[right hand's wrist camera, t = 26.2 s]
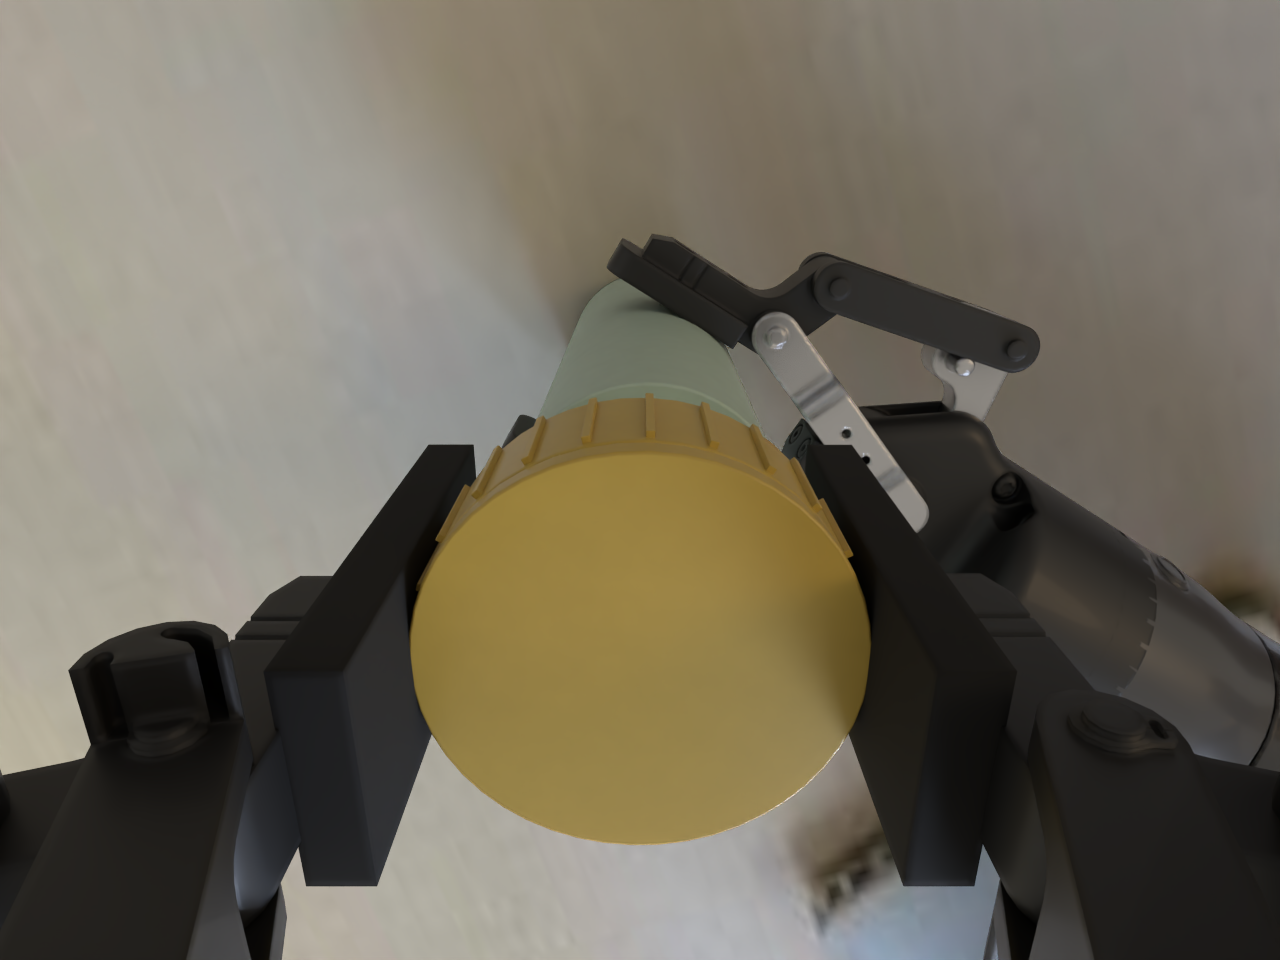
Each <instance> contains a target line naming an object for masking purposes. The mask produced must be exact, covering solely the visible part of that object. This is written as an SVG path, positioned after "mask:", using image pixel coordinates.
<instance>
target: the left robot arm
mask: <svg viewBox="0 0 1280 960" xmlns="http://www.w3.org/2000/svg"><path fill="white" fill-rule="evenodd" d="M607 268H608V269H609V270H610V271H611V272H612V273H613V274H615V275H616V276H617V277H619V278H620V279H622V280H623V281H625V282H627V283H628V284H630V285H631V286H633V287H635V288H636V289H638V290H639V291H641V292H643V293H644V294H646V295H647V296H649V297H651V298H652V299H654V300H655V301H657V302H659V303H660V304H662V305H663V306H665V307H666V308H668V309H670V310H671V311H673V312H674V313H676V314H678V315H679V316H681V317H682V318H684V319H686V320H687V321H689V322H690V323H692V324H694V325H696V326H698V327H699V328H701V329H702V330H704V331H705V332H707V333H708V334H709V335H711V336H713V337H714V338H716V339H717V340H719V341H721V342H722V343H724V344H725V345H727V346H729V347H730V348H732V349H733V348H734V346H735V345H736V343H737V342H739V343H741V344H743V345H744V346H746V347H747V348H749V349H750V350H752V351H754V352H755V353H757V354H759V356H760V357H761V359H762V360H763V361H764V363H765V364H766V365H767V367H768V368H769V369H770V371H771V372H772V373H773V375H774V376H775V378H776V379H777V380H778V382H779V383H780V384H781V386H782V387H783V388H784V390H785V391H786V393H787V394H788V395H789V397H790V398H791V399H792V401H793V402H794V404H795V405H796V406H797V408H798V409H799V411H800V412H801V414H802V415H803V416H804V418H805V419H806V421H805V420H804V419H801V420H800V421H799V423H798V424H797V426H796V427H795V428H794V430H793V431H792V433H791V434H790V435H789V437H788V438H787V440H786V442H785V444H784V447H783V450H782V453H783V454H784V455H785V456H786V457H787V458H788V459H789V460H791V459H792V458H793V457H795V458H796V459H797V460H798V462H799V463H800V465H801V467H802V469H803V471H804V473H805V464H806V452H807V445H852V446H853V447H854V448H855V450H856V451H857V452H858V454H859V455H860V457H861V458H862V459H863V461H864V462H865V463H866V465H867V466H868V468H869V469H870V470H871V472H872V473H873V474H874V476H875V477H876V479H877V480H878V481H879V483H880V484H881V485H882V487H883V488H884V489H885V491H886V492H887V494H888V495H889V496H890V498H891V499H892V500H893V502H894V503H895V505H896V506H897V507H898V509H899V510H900V511H901V513H902V514H903V516H904V517H905V518H906V520H907V521H908V522H909V524H910V525H911V526H912V528H913V529H914V531H915V532H916V533H917V535H918V536H919V537H920V539H921V540H922V542H923V543H924V544H925V546H926V547H927V548H928V550H929V551H930V552H931V554H932V555H933V557H934V558H935V559H936V561H937V562H938V563H939V565H940V566H941V568H942V569H943V570H944V572H945V573H981V574H983V575H984V576H986V577H988V578H989V579H991V580H992V581H994V582H996V583H997V584H999V585H1001V586H1002V587H1004V588H1006V589H1007V590H1009V591H1011V592H1012V593H1013V594H1014V595H1015V597H1016V598H1017V599H1018V600H1019V601H1020V602H1021V604H1022V605H1023V606H1024V607H1025V608H1026V609H1027V611H1028V612H1029V613H1030V618H1034V619H1035V620H1036V621H1037V622H1038V624H1039V625H1040V626H1041V627H1042V628H1043V629H1044V631H1045V632H1046V637H1050V638H1051V639H1052V640H1053V641H1054V642H1055V644H1056V645H1057V646H1058V647H1059V648H1060V649H1061V651H1062V652H1063V653H1064V654H1065V655H1066V657H1067V658H1068V659H1069V660H1070V661H1071V662H1072V664H1073V665H1074V666H1075V667H1076V668H1077V669H1078V671H1079V672H1080V673H1081V674H1082V675H1083V677H1084V678H1085V679H1086V680H1087V681H1088V682H1089V684H1090V685H1091V686H1092V687H1093V688H1094V690H1095V691H1100V692H1104V693H1107V694H1111V695H1115V696H1119V697H1123V698H1126V699H1129V700H1131V701H1133V702H1135V703H1138V704H1140V705H1142V706H1144V707H1147V708H1149V709H1151V710H1153V711H1154V712H1156V713H1157V714H1159V715H1160V716H1162V717H1163V718H1164V719H1166V720H1167V721H1169V722H1170V723H1171V724H1173V725H1174V726H1175V727H1176V728H1177V729H1178V730H1179V732H1180V733H1181V734H1182V735H1183V737H1184V738H1185V739H1186V740H1187V742H1188V743H1189V744H1190V746H1191V748H1192V750H1193V752H1194V754H1197V755H1201V756H1205V757H1209V758H1213V759H1218V760H1223V761H1228V762H1233V763H1238V764H1243V765H1248V766H1253V767H1258V768H1263V769H1268V770H1273V771H1278V772H1280V644H1278V643H1277V642H1275V641H1273V640H1272V639H1270V638H1269V637H1267V636H1266V635H1264V634H1263V633H1261V632H1259V631H1258V630H1256V629H1255V628H1253V627H1252V626H1250V625H1249V624H1247V623H1245V622H1244V621H1242V620H1241V619H1239V618H1238V617H1237V616H1235V615H1234V614H1233V613H1231V612H1230V611H1229V610H1228V609H1227V608H1226V607H1225V606H1223V605H1222V604H1221V603H1220V602H1219V601H1218V600H1217V599H1216V598H1215V597H1214V596H1213V595H1212V594H1211V593H1210V592H1208V591H1207V590H1206V589H1205V588H1204V587H1203V586H1201V585H1200V584H1199V583H1198V582H1196V581H1195V580H1193V579H1192V578H1191V577H1189V576H1188V575H1186V574H1185V573H1184V572H1182V571H1181V570H1179V569H1178V568H1177V567H1176V566H1175V565H1174V564H1173V563H1171V562H1170V561H1169V560H1167V559H1166V558H1164V557H1162V556H1159V555H1157V554H1155V553H1153V552H1152V551H1150V550H1148V549H1147V548H1145V547H1144V546H1142V545H1141V544H1139V543H1137V542H1136V541H1134V540H1133V539H1131V538H1130V537H1128V536H1127V535H1125V534H1123V533H1122V532H1120V531H1119V530H1117V529H1116V528H1114V527H1113V526H1111V525H1110V524H1108V523H1107V522H1105V521H1103V520H1102V519H1100V518H1099V517H1097V516H1096V515H1094V514H1092V513H1091V512H1089V511H1088V510H1086V509H1085V508H1083V507H1082V506H1080V505H1079V504H1077V503H1075V502H1074V501H1072V500H1071V499H1069V498H1068V497H1066V496H1065V495H1063V494H1062V493H1060V492H1059V491H1057V490H1055V489H1054V488H1052V487H1051V486H1049V485H1048V484H1046V483H1045V482H1043V481H1042V480H1040V479H1038V478H1037V477H1035V476H1034V475H1032V474H1031V473H1029V472H1028V471H1026V470H1025V469H1023V468H1021V467H1020V466H1018V465H1017V464H1015V463H1014V462H1012V461H1011V460H1009V459H1008V458H1006V457H1005V456H1003V455H1002V454H1001V452H1000V451H999V449H998V448H997V446H996V444H995V441H994V439H993V436H992V434H991V432H990V430H989V429H988V427H987V426H986V425H985V424H984V423H983V421H984V419H985V417H986V415H987V413H988V411H989V409H990V407H991V406H992V404H993V402H994V400H995V398H996V396H997V394H998V392H999V390H1000V388H1001V386H1002V384H1003V382H1004V380H1005V378H1006V376H1007V374H1008V373H1015V372H1020V371H1022V370H1024V369H1026V368H1028V367H1029V366H1030V365H1031V364H1032V363H1033V362H1034V361H1035V359H1036V358H1037V356H1038V353H1039V350H1040V341H1039V337H1038V335H1037V334H1036V332H1035V331H1034V330H1033V329H1031V328H1030V327H1027V326H1025V325H1023V324H1020V323H1018V322H1016V321H1014V320H1011V319H1009V318H1007V317H1004V316H1002V315H1000V314H997V313H995V312H993V311H990V310H988V309H985V308H982V307H979V306H976V305H973V304H971V303H968V302H965V301H962V300H959V299H956V298H954V297H951V296H948V295H945V294H942V293H939V292H937V291H934V290H931V289H928V288H925V287H922V286H919V285H917V284H914V283H911V282H908V281H905V280H902V279H900V278H897V277H894V276H891V275H888V274H885V273H883V272H880V271H877V270H874V269H871V268H868V267H866V266H863V265H860V264H857V263H854V262H851V261H848V260H846V259H843V258H840V257H837V256H834V255H831V254H829V253H825V252H819V253H814V254H812V255H810V256H808V257H807V258H806V259H805V260H804V261H803V262H802V263H801V265H800V267H799V270H798V271H797V272H795V273H794V274H793V275H791V276H790V277H789V278H787V279H786V280H785V281H783V282H782V283H781V284H779V285H778V286H776V287H774V288H771V289H767V290H757V289H753V288H750V287H748V286H747V285H745V284H743V283H742V282H740V281H739V280H737V279H736V278H734V277H733V276H731V275H730V274H728V273H726V272H725V271H723V270H722V269H720V268H719V267H717V266H716V265H714V264H713V263H711V262H710V261H708V260H706V259H705V258H703V257H702V256H700V255H699V254H697V253H696V252H694V251H692V250H691V249H689V248H688V247H686V246H685V245H683V244H682V243H680V242H679V241H677V240H676V239H674V238H672V237H667V236H661V235H656V234H652V235H651V237H650V238H649V240H648V242H647V243H646V245H645V247H644V248H643V250H642V249H641V248H639V247H638V246H636V245H635V244H633V243H631V242H629V241H627V240H626V239H623V238H622V240H621V242H620V243H619V245H618V247H617V248H616V250H615V252H614V253H613V255H612V257H611V259H610V260H609V262H608V265H607ZM836 314H838V315H841V316H844V317H847V318H850V319H853V320H856V321H858V322H861V323H864V324H867V325H870V326H873V327H876V328H879V329H882V330H885V331H888V332H890V333H893V334H896V335H899V336H902V337H905V338H908V339H911V340H914V341H917V342H920V343H922V344H924V345H923V348H922V351H921V360H922V363H923V365H924V367H925V368H926V369H927V370H928V371H930V372H931V373H932V374H934V375H935V376H936V377H938V378H939V379H940V380H941V381H942V383H943V386H944V396H943V399H942V401H932V402H918V403H904V404H890V405H875V406H861V407H857V406H856V404H855V403H854V401H853V400H852V399H851V397H850V396H849V394H848V393H847V392H846V390H845V389H844V388H843V386H842V385H841V383H840V382H839V381H838V380H837V378H836V377H835V376H834V374H833V373H832V372H831V370H830V369H829V367H828V366H827V365H826V363H825V362H824V360H823V359H822V357H821V356H820V355H819V353H818V352H817V350H816V349H815V348H814V346H813V345H812V343H811V342H810V340H809V339H808V338H807V336H808V335H809V334H811V333H812V332H813V331H815V330H816V329H817V328H819V327H820V326H821V325H823V324H824V323H825V322H827V321H828V320H829V319H831V318H832V317H833V316H835V315H836ZM535 422H536V419H534V418H532V417H530V416H527V415H520V416H519V417H518V419H517V421H516V422H515V424H514V426H513V427H512V429H511V431H510V433H509V434H508V436H507V438H506V440H505V442H504V444H503V446H502V449H503V448H504V447H505V446H507V445H508V444H509V443H510V442H512V441H513V440H514V439H515V438H517V437H518V436H519V435H520V434H522V433H523V432H525V431H527V430H528V429H530V428H532V427H533V426H534V424H535Z"/></svg>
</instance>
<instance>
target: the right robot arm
mask: <svg viewBox="0 0 1280 960" xmlns="http://www.w3.org/2000/svg"><path fill="white" fill-rule="evenodd" d="M805 475H806V477H807V479H808V481H809V483H810V485H811V487H812V489H813V491H814V493H815V494H816V496H817V498H818V500H820V499H822V498H823V499H824V500H825V502H826V504H827V506H828V508H829V510H830V512H831V514H832V515H833V517H834V519H835V521H836V523H837V525H838V527H839V529H840V530H841V532H842V534H843V536H844V538H845V540H846V542H847V544H848V545H849V547H850V549H851V551H852V553H853V556H852V557H849V558H847V559H848V560H849V562H850V564H851V566H852V568H853V570H854V572H855V574H856V577H857V579H858V582H859V584H860V587H861V590H862V592H863V595H864V597H865V601H866V606H867V610H868V615H869V619H870V624H871V650H870V659H869V668H868V676H867V683H866V691H865V696H864V700H863V703H862V706H861V708H860V710H859V713H858V715H857V718H856V720H855V723H854V725H853V727H852V728H851V730H850V732H849V736H850V739H851V742H852V744H853V747H854V750H855V753H856V755H857V758H858V761H859V764H860V767H861V769H862V772H863V775H864V778H865V780H866V783H867V786H868V789H869V792H870V794H871V797H872V800H873V803H874V805H875V808H876V811H877V814H878V817H879V819H880V822H881V825H882V828H883V830H884V833H885V836H886V839H887V842H888V844H889V847H890V850H891V853H892V855H893V858H894V861H895V864H896V867H897V869H898V872H899V875H900V878H901V881H902V883H903V886H974V885H975V880H976V875H977V870H978V865H979V860H980V855H981V850H982V845H984V847H985V849H986V851H987V853H988V855H989V857H990V859H991V861H992V863H993V865H994V867H995V869H996V871H997V873H998V875H999V877H1000V882H999V887H998V891H997V896H996V901H995V905H994V910H993V915H992V919H991V924H990V929H989V933H988V938H987V942H986V947H985V952H984V959H983V960H996V958H997V954H998V959H999V960H1280V772H1278V771H1273V770H1268V769H1263V768H1258V767H1253V766H1248V765H1243V764H1238V763H1233V762H1228V761H1223V760H1218V759H1213V758H1209V757H1205V756H1201V755H1197V754H1194V752H1193V750H1192V748H1191V746H1190V744H1189V743H1188V742H1187V740H1186V739H1185V738H1184V737H1183V735H1182V734H1181V733H1180V732H1179V730H1178V729H1177V728H1176V727H1175V726H1174V725H1173V724H1171V723H1170V722H1169V721H1167V720H1166V719H1164V718H1163V717H1162V716H1160V715H1159V714H1157V713H1156V712H1154V711H1153V710H1151V709H1149V708H1147V707H1144V706H1142V705H1140V704H1138V703H1135V702H1133V701H1131V700H1129V699H1126V698H1123V697H1119V696H1115V695H1111V694H1107V693H1104V692H1100V691H1095V690H1094V688H1093V687H1092V686H1091V685H1090V684H1089V682H1088V681H1087V680H1086V679H1085V678H1084V677H1083V675H1082V674H1081V673H1080V672H1079V671H1078V669H1077V668H1076V667H1075V666H1074V665H1073V664H1072V662H1071V661H1070V660H1069V659H1068V658H1067V657H1066V655H1065V654H1064V653H1063V652H1062V651H1061V649H1060V648H1059V647H1058V646H1057V645H1056V644H1055V642H1054V641H1053V640H1052V639H1051V638H1050V637H1046V632H1045V631H1044V629H1043V628H1042V627H1041V626H1040V625H1039V624H1038V622H1037V621H1036V620H1035V619H1034V618H1030V613H1029V612H1028V611H1027V609H1026V608H1025V607H1024V606H1023V605H1022V604H1021V602H1020V601H1019V600H1018V599H1017V598H1016V597H1015V595H1014V594H1013V593H1012V592H1011V591H1009V590H1007V589H1006V588H1004V587H1002V586H1001V585H999V584H997V583H996V582H994V581H992V580H991V579H989V578H988V577H986V576H984V575H983V574H981V573H945V572H944V570H943V569H942V568H941V566H940V565H939V563H938V562H937V561H936V559H935V558H934V557H933V555H932V554H931V552H930V551H929V550H928V548H927V547H926V546H925V544H924V543H923V542H922V540H921V539H920V537H919V536H918V535H917V533H916V532H915V531H914V529H913V528H912V526H911V525H910V524H909V522H908V521H907V520H906V518H905V517H904V516H903V514H902V513H901V511H900V510H899V509H898V507H897V506H896V505H895V503H894V502H893V500H892V499H891V498H890V496H889V495H888V494H887V492H886V491H885V489H884V488H883V487H882V485H881V484H880V483H879V481H878V480H877V479H876V477H875V476H874V474H873V473H872V472H871V470H870V469H869V468H868V466H867V465H866V463H865V462H864V461H863V459H862V458H861V457H860V455H859V454H858V452H857V451H856V450H855V448H854V447H853V446H852V445H807V452H806V464H805ZM475 480H476V470H475V458H474V445H428V446H427V448H426V449H425V450H424V452H423V453H422V455H421V456H420V457H419V459H418V460H417V461H416V463H415V464H414V466H413V467H412V468H411V470H410V471H409V472H408V474H407V475H406V476H405V478H404V479H403V481H402V482H401V483H400V485H399V486H398V487H397V489H396V490H395V492H394V493H393V494H392V496H391V497H390V498H389V500H388V501H387V503H386V504H385V505H384V507H383V508H382V509H381V511H380V512H379V514H378V515H377V516H376V518H375V519H374V520H373V522H372V523H371V524H370V526H369V527H368V529H367V530H366V531H365V533H364V534H363V535H362V537H361V538H360V540H359V541H358V542H357V544H356V545H355V546H354V548H353V549H352V551H351V552H350V553H349V555H348V556H347V557H346V559H345V560H344V561H343V563H342V564H341V566H340V567H339V568H338V570H337V571H336V572H335V574H334V575H333V576H300V577H298V578H296V579H295V580H293V581H291V582H290V583H288V584H286V585H285V586H283V587H281V588H280V589H278V590H277V591H275V592H273V593H272V594H270V595H269V596H268V597H267V598H266V599H265V601H264V602H263V603H262V604H261V605H260V607H259V608H258V609H257V610H256V611H255V612H254V614H253V615H252V616H251V621H247V622H246V623H245V624H244V626H243V627H242V628H241V629H240V630H239V631H238V633H237V634H236V635H235V640H231V641H230V642H229V640H228V636H227V634H226V633H225V632H224V631H222V630H221V629H220V628H218V627H217V626H216V625H212V624H207V623H202V622H197V621H181V622H165V623H161V624H156V625H151V626H147V627H142V628H138V629H135V630H132V631H130V632H127V633H124V634H122V635H119V636H116V637H114V638H111V639H109V640H107V641H105V642H103V643H102V644H100V645H98V646H97V647H95V648H93V649H92V650H90V651H88V652H87V653H85V654H84V655H83V656H82V657H81V658H80V659H79V660H78V661H77V662H76V663H75V664H74V665H73V666H72V667H71V668H70V669H69V670H68V671H69V674H70V677H71V681H72V684H73V687H74V691H75V694H76V697H77V700H78V704H79V707H80V710H81V714H82V717H83V720H84V723H85V727H86V730H87V733H88V737H89V740H90V743H91V746H90V748H89V750H88V752H87V754H86V756H85V758H82V759H79V760H75V761H71V762H66V763H61V764H56V765H51V766H46V767H41V768H36V769H31V770H26V771H21V772H16V773H12V774H7V775H2V773H1V770H0V960H282V953H283V945H284V936H285V928H286V920H287V915H286V908H285V901H284V896H283V891H282V887H281V881H282V879H283V877H284V875H285V873H286V871H287V869H288V867H289V865H290V862H291V860H292V858H293V856H294V854H295V852H296V850H297V848H298V847H299V852H300V857H301V862H302V867H303V872H304V877H305V882H306V886H377V885H378V882H379V879H380V876H381V874H382V871H383V868H384V865H385V862H386V860H387V857H388V854H389V851H390V849H391V846H392V843H393V840H394V837H395V835H396V832H397V829H398V826H399V824H400V821H401V818H402V815H403V812H404V810H405V807H406V804H407V801H408V799H409V796H410V793H411V790H412V787H413V785H414V782H415V779H416V776H417V774H418V771H419V768H420V765H421V762H422V760H423V757H424V754H425V751H426V748H427V746H428V743H429V740H430V737H431V735H432V733H431V731H430V729H429V727H428V725H427V723H426V721H425V719H424V716H423V714H422V712H421V710H420V707H419V703H418V700H417V697H416V694H415V687H414V679H413V671H412V663H411V654H410V644H409V631H410V625H411V618H412V612H413V607H414V604H415V601H416V597H417V594H418V591H416V586H417V583H418V581H419V579H420V577H421V575H422V573H423V571H424V570H425V568H426V566H427V564H428V562H429V560H430V558H431V556H432V554H433V552H434V550H435V548H436V547H437V545H438V543H439V542H438V541H436V540H435V539H436V537H437V535H438V534H439V532H440V530H441V528H442V526H443V524H444V522H445V520H446V519H447V517H448V515H449V513H450V511H451V509H452V507H453V505H454V504H455V502H456V500H457V498H458V496H459V494H460V492H461V490H462V489H463V487H464V485H467V486H469V487H471V485H472V484H473V482H474V481H475Z"/></svg>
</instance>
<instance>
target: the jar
mask: <svg viewBox="0 0 1280 960" xmlns="http://www.w3.org/2000/svg"><path fill="white" fill-rule="evenodd" d="M645 393H653V396H654V398H657V399H666V400H676V401H680V402H685V403H689V404H693V405H697V406H700V405H701V402H705V403H708V404H709V406H710V409H711V410H713V411H716V412H718V413H721V414H724V415H726V416H729V417H731V418H732V419H734V420H736V421H738V422H740V423H742V424H744V425H746V426H747V427H749V428H750V426H751V425H752V424H754V425H756V426H757V427H759V429H760V432H761V434H762V436H763V437H764V438H765V435H764V433H763V431H762V428H761V426H760V424H759V422H758V419H757V417H756V415H755V412H754V410H753V408H752V406H751V403H750V401H749V399H748V396H747V394H746V392H745V390H744V387H743V385H742V383H741V380H740V378H739V376H738V374H737V371H736V369H735V367H734V364H733V362H732V360H731V358H730V355H729V353H728V351H727V348H726V346H725V344H724V343H722V342H721V341H719V340H717V339H716V338H714V337H713V336H711V335H709V334H708V333H707V332H705V331H704V330H702V329H701V328H699V327H698V326H696V325H694V324H692V323H690V322H689V321H687V320H686V319H684V318H682V317H681V316H679V315H678V314H676V313H674V312H673V311H671V310H670V309H668V308H666V307H665V306H663V305H662V304H660V303H659V302H657V301H655V300H654V299H652V298H651V297H649V296H647V295H646V294H644V293H643V292H641V291H639V290H638V289H636V288H635V287H633V286H631V285H630V284H628V283H627V282H625V281H623V280H622V279H617V280H615V281H613V282H612V283H610V284H608V285H607V286H605V287H604V288H602V289H601V290H600V291H599V292H598V293H597V294H595V295H594V296H593V298H592V299H591V300H590V301H589V302H588V304H587V305H586V307H585V309H584V310H583V312H582V314H581V316H580V319H579V321H578V323H577V326H576V328H575V330H574V333H573V335H572V338H571V340H570V342H569V345H568V347H567V349H566V352H565V354H564V357H563V359H562V361H561V364H560V366H559V369H558V371H557V373H556V376H555V378H554V380H553V383H552V385H551V388H550V390H549V392H548V395H547V397H546V400H545V402H544V404H543V407H542V409H541V412H540V414H539V416H538V418H539V417H541V416H544V417H545V419H548V418H550V417H553V416H555V415H557V414H560V413H562V412H564V411H567V410H570V409H573V408H577V407H580V406H584V405H587V404H588V401H589V399H591V398H595V397H596V398H597V401H598V402H601V401H607V400H614V399H620V398H645ZM765 439H766V438H765Z"/></svg>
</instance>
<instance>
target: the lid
mask: <svg viewBox="0 0 1280 960" xmlns="http://www.w3.org/2000/svg"><path fill="white" fill-rule="evenodd" d="M435 540H436V541H438V542H439V543H438V545H437V547H436V548H435V550H434V552H433V554H432V556H431V558H430V560H429V562H428V564H427V566H426V568H425V570H424V571H423V573H422V575H421V577H420V579H419V581H418V583H417V586H416V591H418V594H417V597H416V601H415V604H414V607H413V612H412V618H411V625H410V631H409V644H410V654H411V663H412V671H413V679H414V687H415V694H416V697H417V700H418V703H419V707H420V710H421V712H422V714H423V716H424V719H425V721H426V723H427V725H428V727H429V729H430V731H431V733H432V735H433V736H434V738H435V739H436V741H437V742H438V744H439V746H440V747H441V749H442V750H443V752H444V753H445V755H446V756H447V757H448V758H449V759H450V761H451V762H452V763H453V764H454V765H455V766H456V767H457V769H458V770H459V771H460V772H461V773H462V774H463V775H464V776H465V777H466V778H467V779H468V780H469V781H470V782H471V783H473V784H474V785H475V786H476V787H477V788H478V789H479V790H480V791H481V792H483V793H484V794H486V795H487V796H488V797H490V798H491V799H493V800H494V801H496V802H497V803H498V804H500V805H501V806H503V807H504V808H506V809H508V810H510V811H511V812H513V813H515V814H517V815H519V816H521V817H522V818H524V819H526V820H528V821H531V822H533V823H535V824H538V825H540V826H543V827H545V828H548V829H550V830H553V831H556V832H560V833H563V834H566V835H570V836H573V837H577V838H581V839H587V840H592V841H597V842H603V843H613V844H625V845H659V844H668V843H676V842H684V841H690V840H694V839H699V838H703V837H707V836H712V835H715V834H718V833H721V832H724V831H727V830H730V829H733V828H736V827H739V826H741V825H743V824H745V823H747V822H750V821H752V820H754V819H756V818H758V817H760V816H763V815H764V814H766V813H768V812H769V811H771V810H773V809H774V808H776V807H778V806H779V805H781V804H782V803H784V802H786V801H787V800H788V799H790V798H791V797H792V796H793V795H795V794H796V793H797V792H799V791H800V790H801V789H803V788H804V787H805V786H806V785H807V784H808V783H809V782H810V781H811V780H812V779H813V778H814V777H815V776H816V775H817V774H818V773H820V772H821V771H822V770H823V769H824V768H825V766H826V765H827V764H828V762H829V761H830V760H831V759H832V757H833V756H834V755H835V754H836V752H837V751H838V750H839V748H840V747H841V745H842V744H843V742H844V740H845V739H846V737H847V735H848V734H849V732H850V730H851V728H852V727H853V725H854V723H855V720H856V718H857V715H858V713H859V710H860V708H861V706H862V703H863V700H864V696H865V691H866V683H867V676H868V668H869V659H870V650H871V624H870V619H869V615H868V610H867V606H866V601H865V597H864V595H863V592H862V590H861V587H860V584H859V582H858V579H857V577H856V574H855V572H854V570H853V568H852V566H851V564H850V562H849V560H848V559H847V558H849V557H852V556H853V553H852V551H851V549H850V547H849V545H848V544H847V542H846V540H845V538H844V536H843V534H842V532H841V530H840V529H839V527H838V525H837V523H836V521H835V519H834V517H833V515H832V514H831V512H830V510H829V508H828V506H827V504H826V502H825V500H824V499H823V498H822V499H820V500H818V498H817V496H816V494H815V493H814V491H813V489H812V487H811V485H810V483H809V481H808V479H807V477H806V475H805V473H804V471H803V469H802V467H801V465H800V463H799V462H798V460H797V459H796V458H795V457H793V458H792V459H791V460H789V459H788V458H787V457H786V456H785V455H784V454H783V453H782V452H781V451H780V450H779V449H778V448H777V447H775V446H774V445H773V444H772V443H771V442H769V441H768V440H767V439H765V438H764V437H763V436H762V434H761V432H760V429H759V427H757V426H756V425H754V424H752V425H751V426H750V428H749V427H747V426H746V425H744V424H742V423H740V422H738V421H736V420H734V419H732V418H731V417H729V416H726V415H724V414H721V413H718V412H716V411H713V410H711V409H710V406H709V404H708V403H705V402H701V405H700V406H697V405H693V404H689V403H685V402H680V401H676V400H666V399H657V398H654V396H653V393H645V398H620V399H614V400H607V401H601V402H598V401H597V398H596V397H595V398H591V399H589V401H588V404H587V405H584V406H580V407H577V408H573V409H570V410H567V411H564V412H562V413H560V414H557V415H555V416H553V417H550V418H548V419H545V417H544V416H541V417H539V418H537V419H536V422H535V424H534V426H533V427H532V428H530V429H528V430H527V431H525V432H523V433H522V434H520V435H519V436H518V437H517V438H515V439H514V440H513V441H512V442H510V443H509V444H508V445H507V446H505V447H504V448H503V449H502V448H501V447H500V446H499V445H498V446H497V447H496V448H495V449H494V450H493V452H492V454H491V456H490V458H489V460H488V462H487V464H486V466H485V467H484V468H483V470H482V471H481V473H480V474H479V475H478V477H477V478H476V480H475V481H474V482H473V484H472V485H471V487H469V486H467V485H464V487H463V489H462V490H461V492H460V494H459V496H458V498H457V500H456V502H455V504H454V505H453V507H452V509H451V511H450V513H449V515H448V517H447V519H446V520H445V522H444V524H443V526H442V528H441V530H440V532H439V534H438V535H437V537H436V539H435Z"/></svg>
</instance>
